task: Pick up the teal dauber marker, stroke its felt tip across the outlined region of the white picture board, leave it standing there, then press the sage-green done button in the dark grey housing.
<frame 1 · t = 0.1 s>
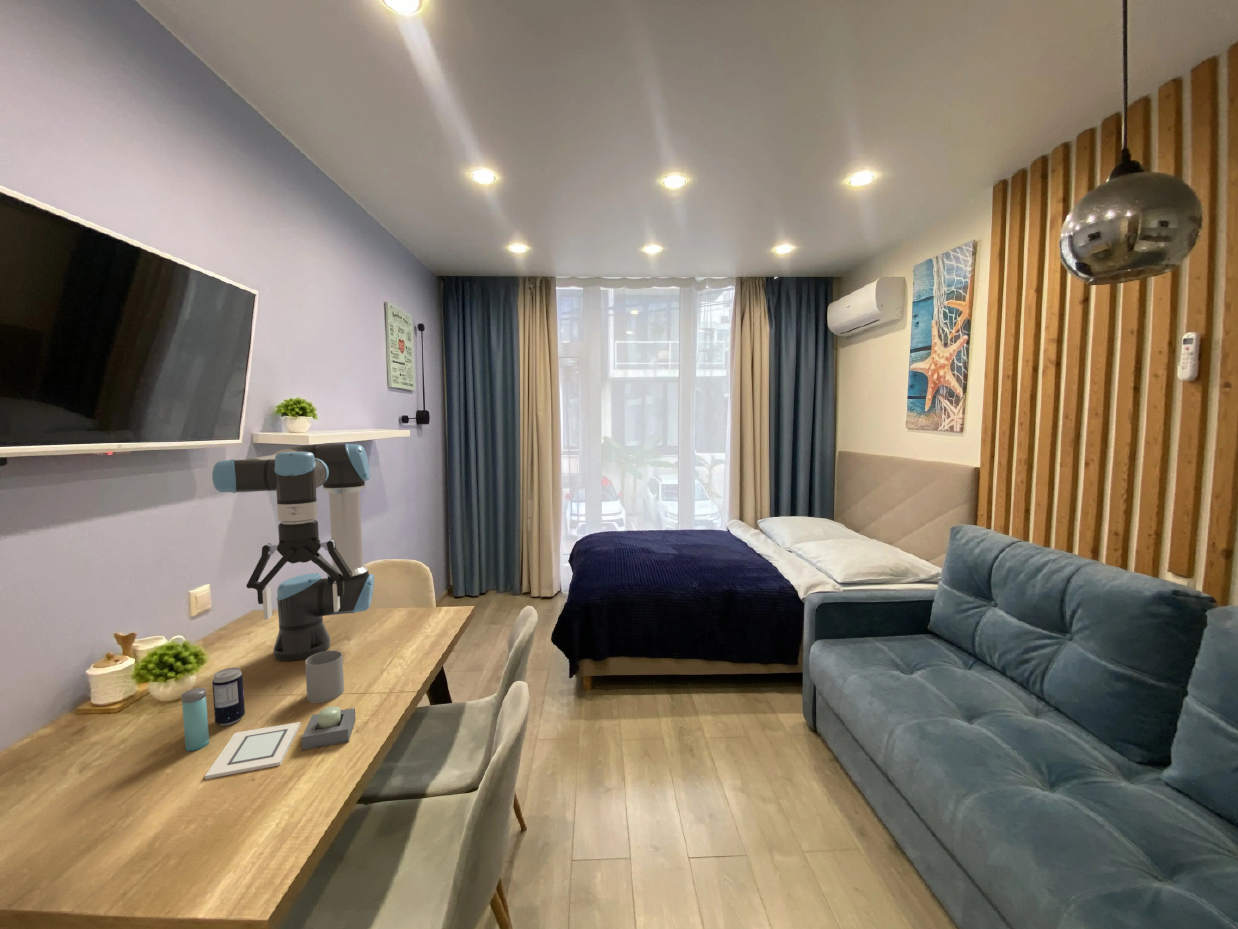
hand: (303, 613, 114), 28 cm above the table, fingers open, 13 cm apart
cup: (325, 695, 132), on the table
beverage can: (230, 721, 121), on the table
button housing: (330, 734, 115), on the table
done button: (329, 718, 115), point 4 cm above the table, slide at 0.0 cm
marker: (197, 745, 111), on the table
picture board: (256, 749, 110), on the table
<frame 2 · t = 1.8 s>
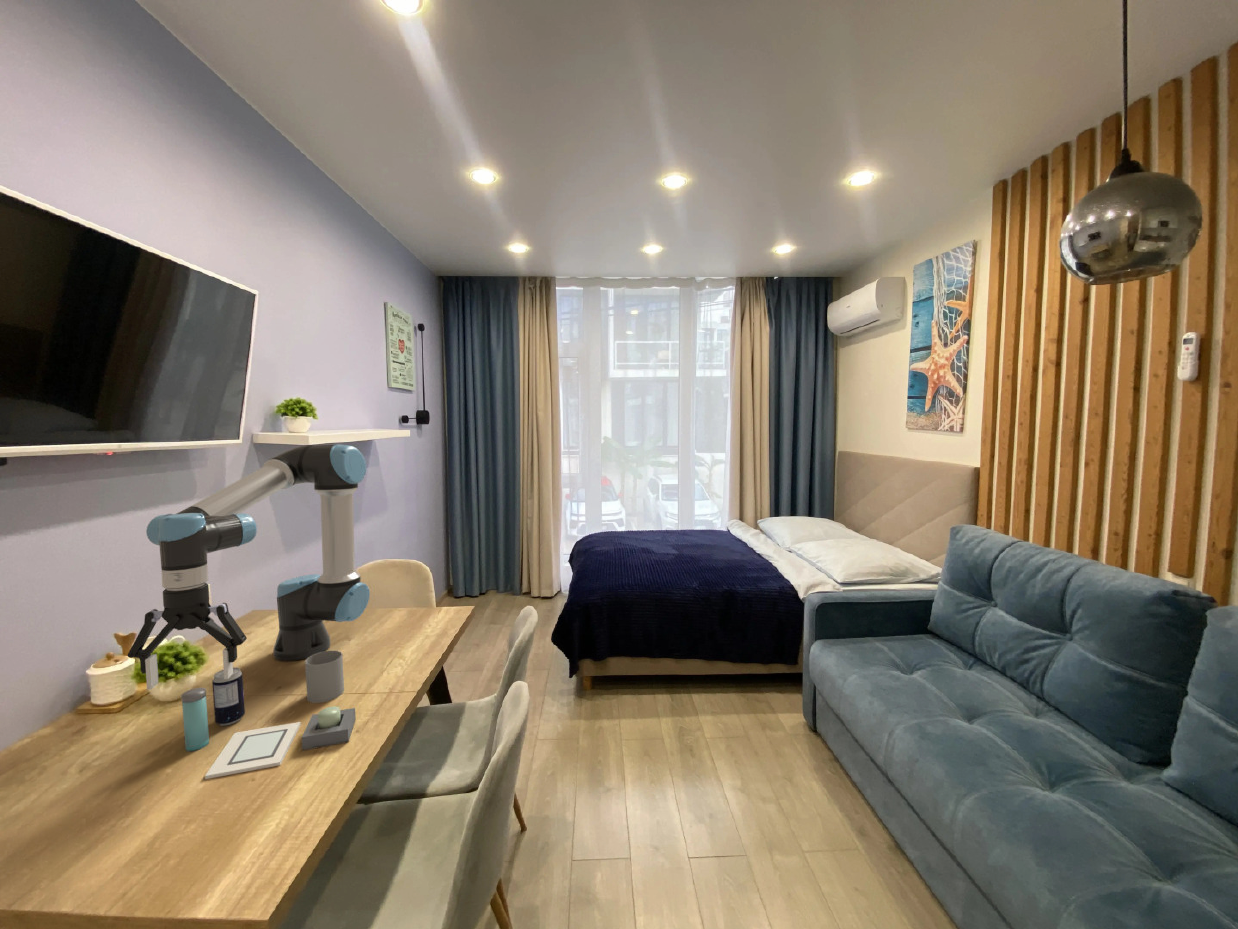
hand: (191, 681, 110), 15 cm above the table, fingers open, 13 cm apart
nothing on the table moved.
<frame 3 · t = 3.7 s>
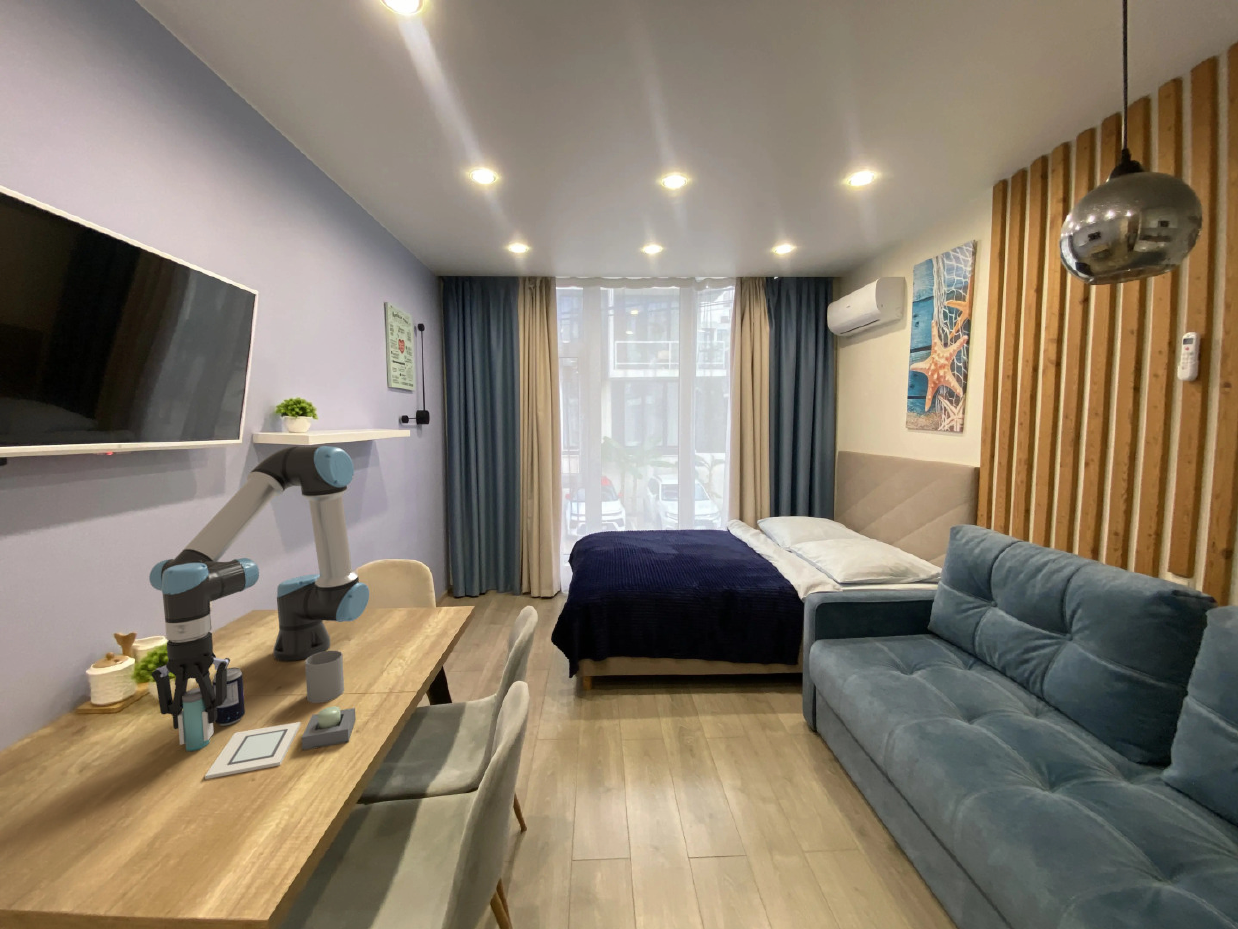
hand: (197, 738, 111), 2 cm above the table, fingers closed on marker, 4 cm apart
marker: (197, 745, 111), on the table, touching gripper
everything else where it was.
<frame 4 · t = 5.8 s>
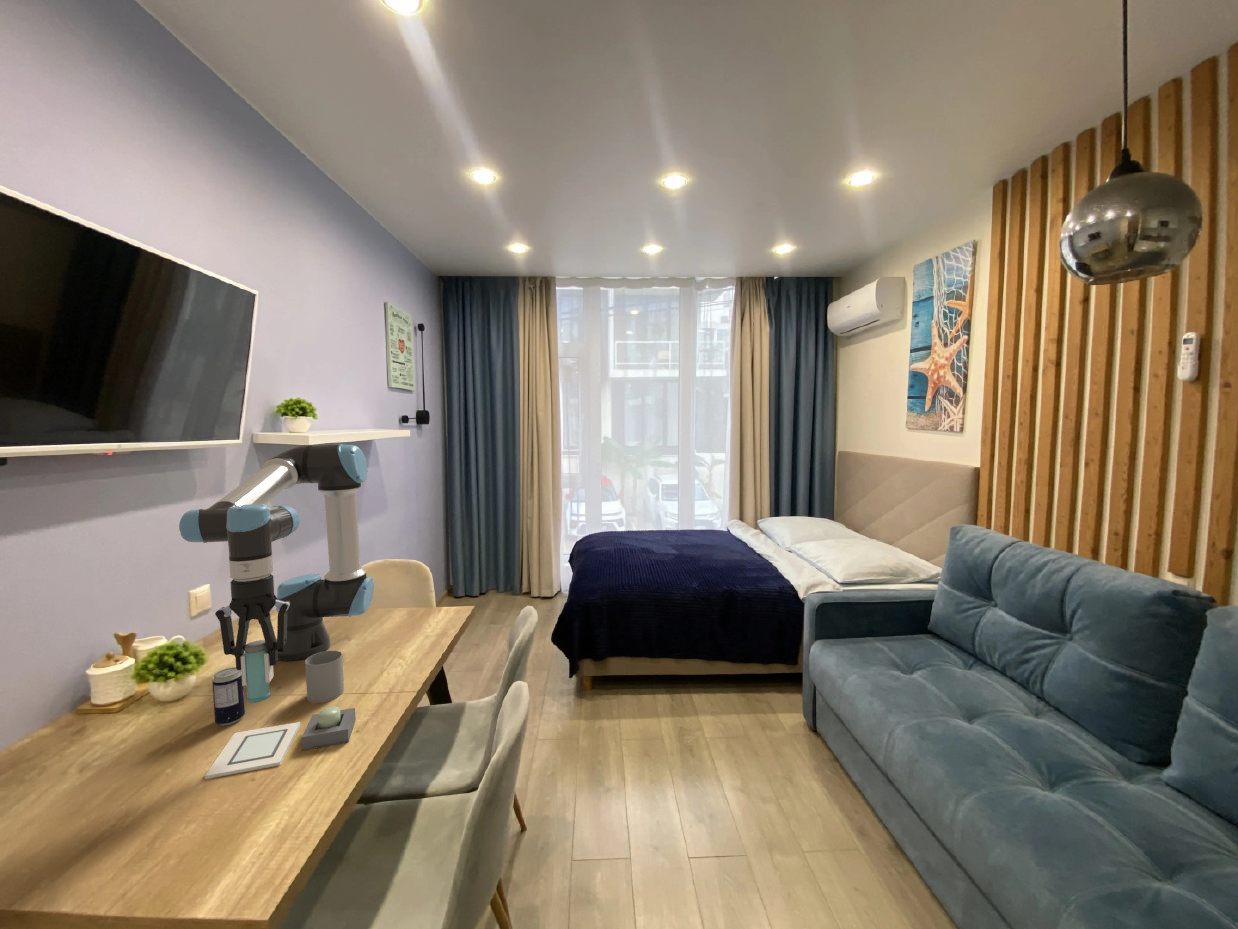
hand: (258, 681, 111), 15 cm above the table, fingers closed on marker, 4 cm apart
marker: (258, 698, 111), point 11 cm above the table, touching gripper
everything else where it was.
when the fingers open (3 cm above the table, at t = 8.1 s): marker stays where it is, resting on picture board.
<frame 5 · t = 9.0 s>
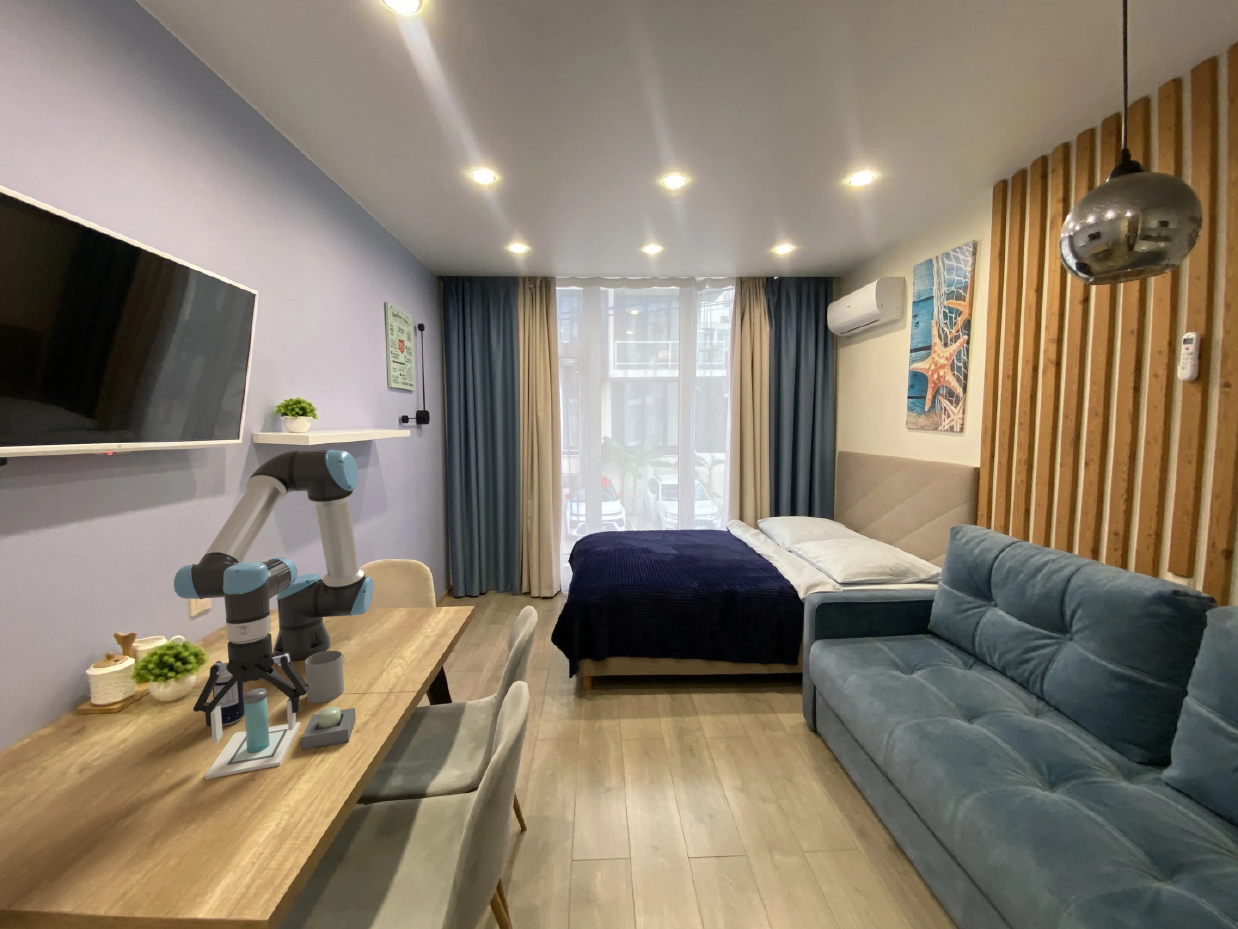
hand: (255, 733, 108), 5 cm above the table, fingers open, 13 cm apart
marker: (258, 747, 109), point 1 cm above the table, touching picture board
everything else where it was.
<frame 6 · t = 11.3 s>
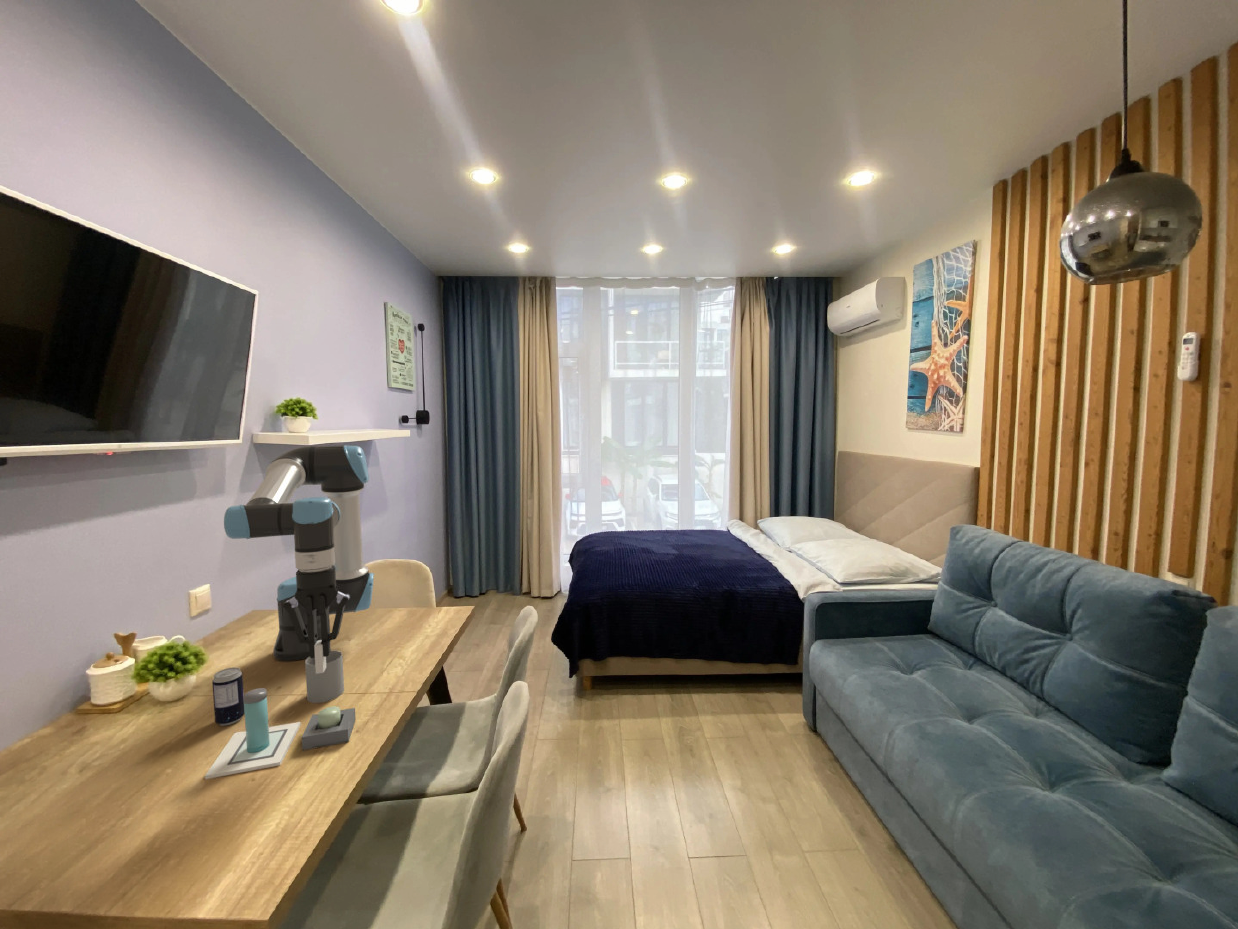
hand: (321, 670, 113), 15 cm above the table, fingers closed
nothing on the table moved.
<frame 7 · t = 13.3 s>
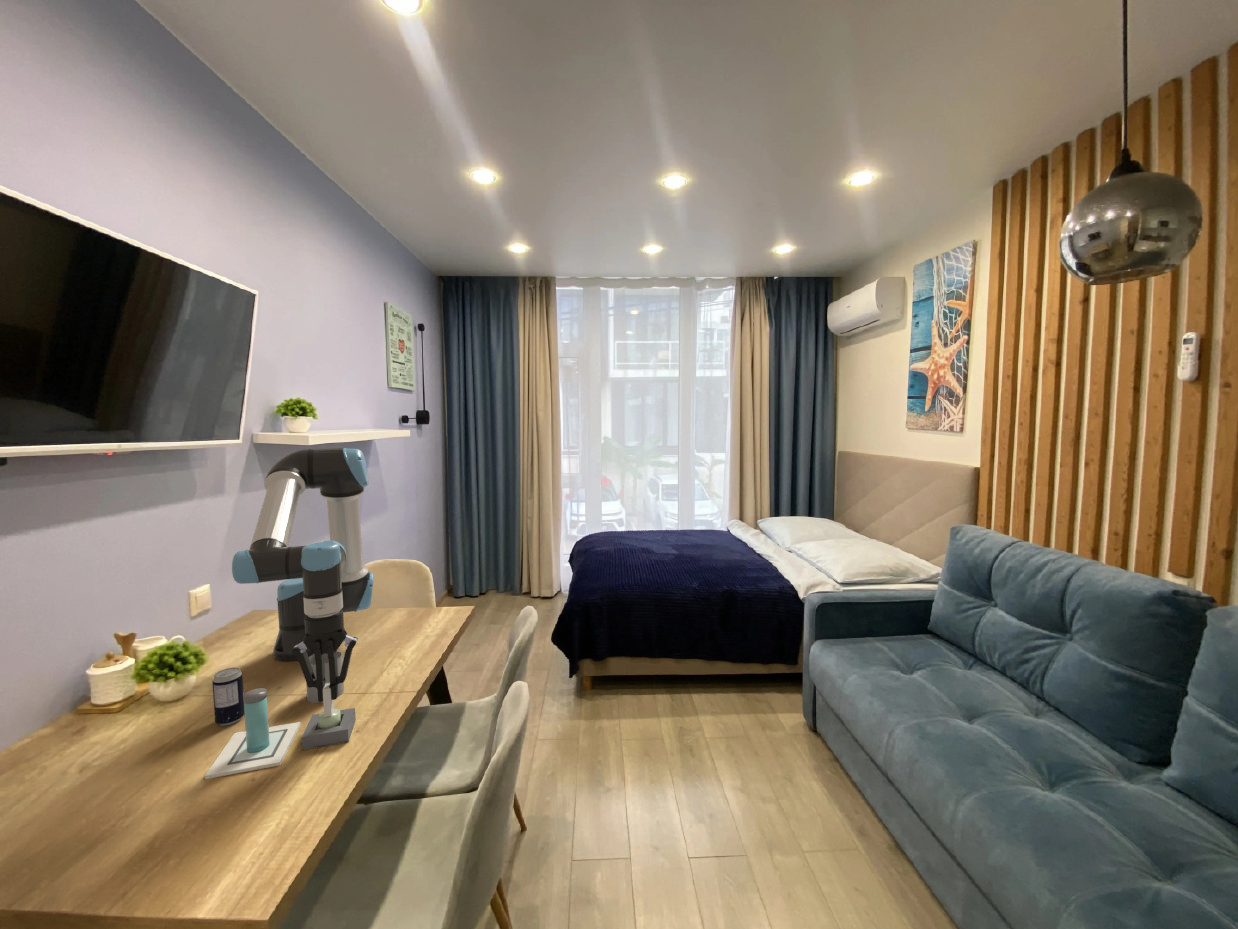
hand: (329, 713, 115), 5 cm above the table, fingers closed
done button: (329, 720, 115), point 3 cm above the table, slide at 0.6 cm, touching gripper
everything else where it was.
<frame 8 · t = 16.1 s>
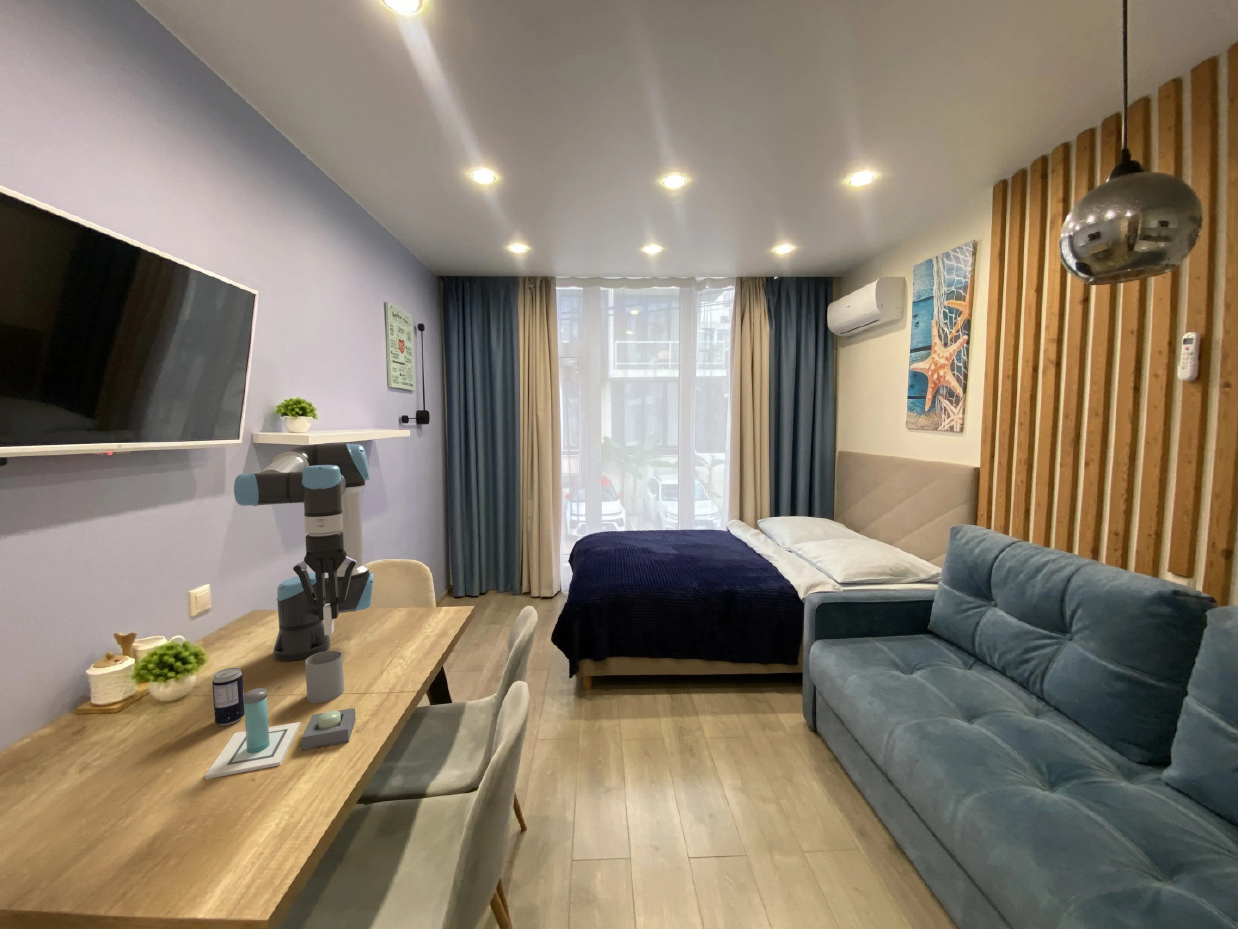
hand: (329, 632, 117), 22 cm above the table, fingers closed
done button: (329, 722, 115), point 3 cm above the table, slide at 1.0 cm
everything else where it was.
at the end: done button slide at 1.0 cm; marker inside the target area (0.5 cm from its centre), point 0.8 cm above the table; the gripper is holding nothing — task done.
